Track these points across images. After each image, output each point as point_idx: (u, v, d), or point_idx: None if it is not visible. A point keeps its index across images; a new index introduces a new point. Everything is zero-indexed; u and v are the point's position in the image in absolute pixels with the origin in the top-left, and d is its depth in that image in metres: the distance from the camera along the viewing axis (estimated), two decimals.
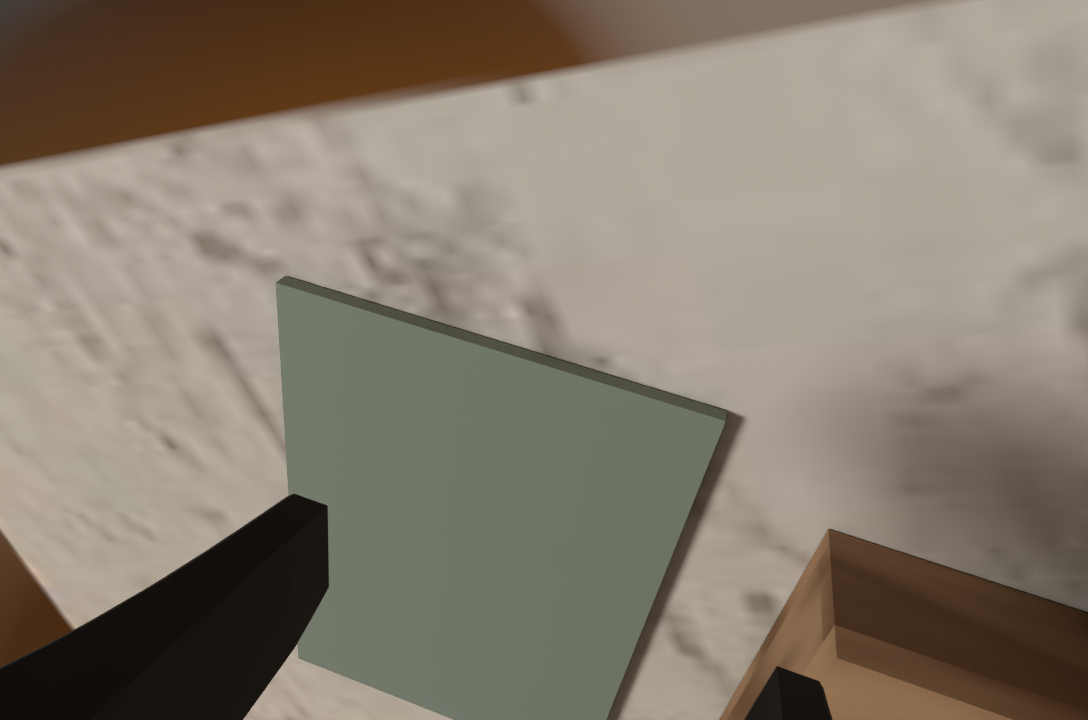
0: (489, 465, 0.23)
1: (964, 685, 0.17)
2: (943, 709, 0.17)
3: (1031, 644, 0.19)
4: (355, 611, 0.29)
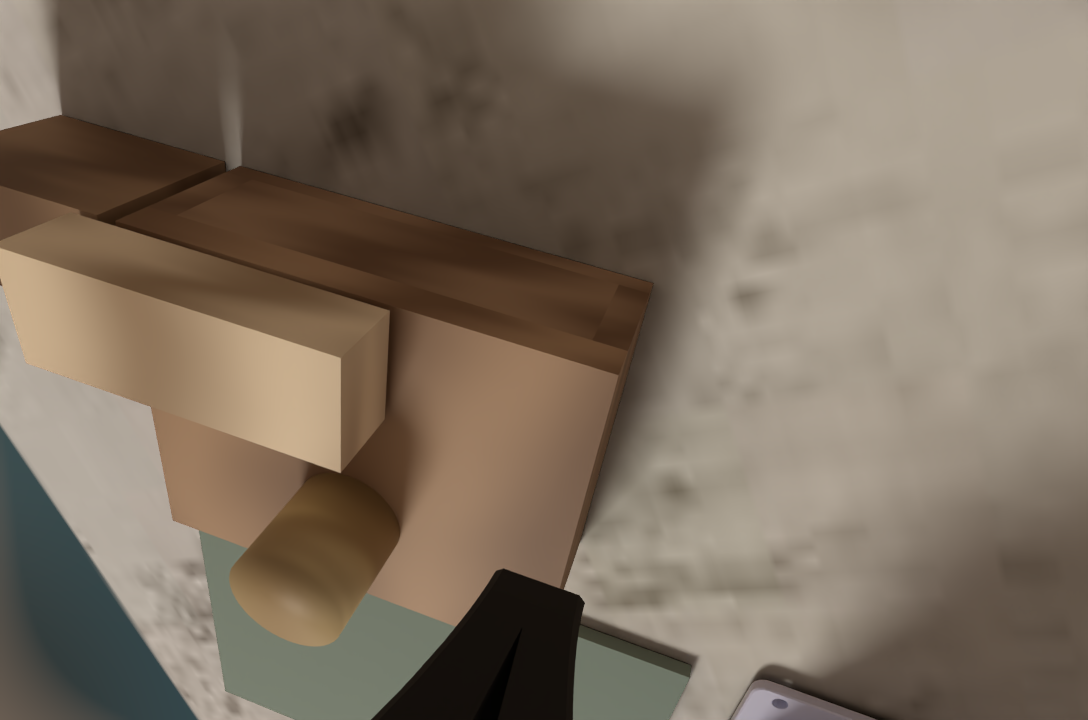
0: None
1: None
2: (175, 459, 0.20)
3: None
4: None
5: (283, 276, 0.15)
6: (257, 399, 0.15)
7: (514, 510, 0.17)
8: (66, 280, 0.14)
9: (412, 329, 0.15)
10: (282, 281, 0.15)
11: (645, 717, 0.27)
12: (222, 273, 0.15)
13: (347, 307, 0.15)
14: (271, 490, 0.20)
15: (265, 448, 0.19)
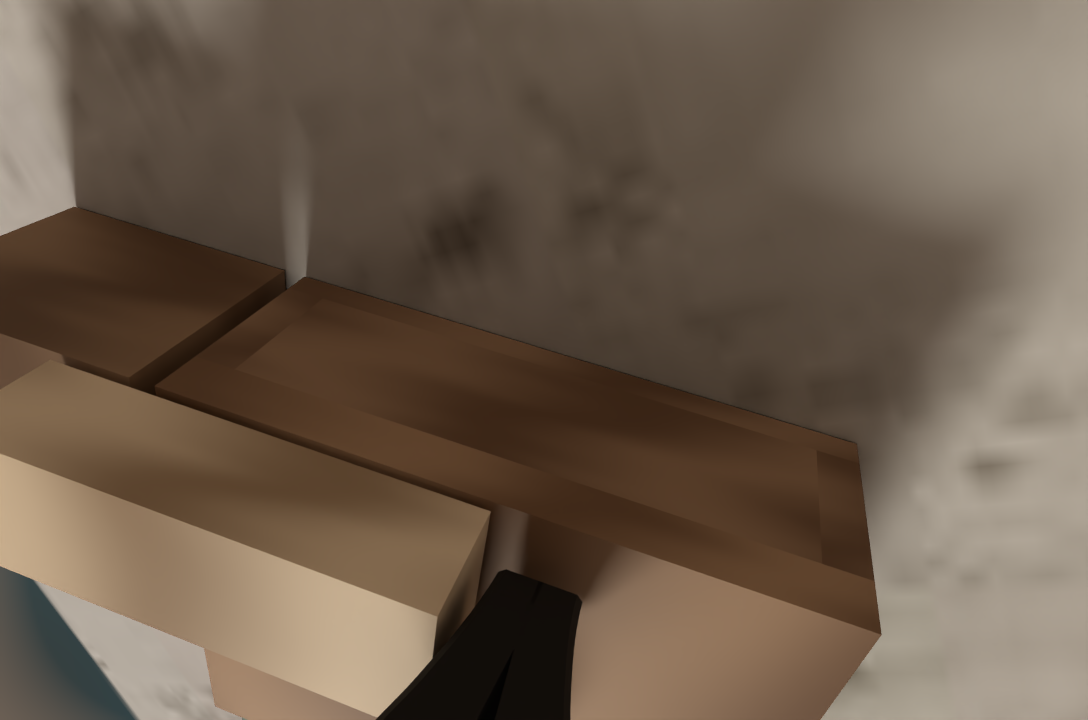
0: None
1: None
2: None
3: None
4: None
5: (389, 471, 0.11)
6: (309, 643, 0.10)
7: None
8: (41, 480, 0.10)
9: (572, 548, 0.11)
10: (340, 467, 0.11)
11: None
12: (258, 456, 0.11)
13: (432, 510, 0.11)
14: None
15: None
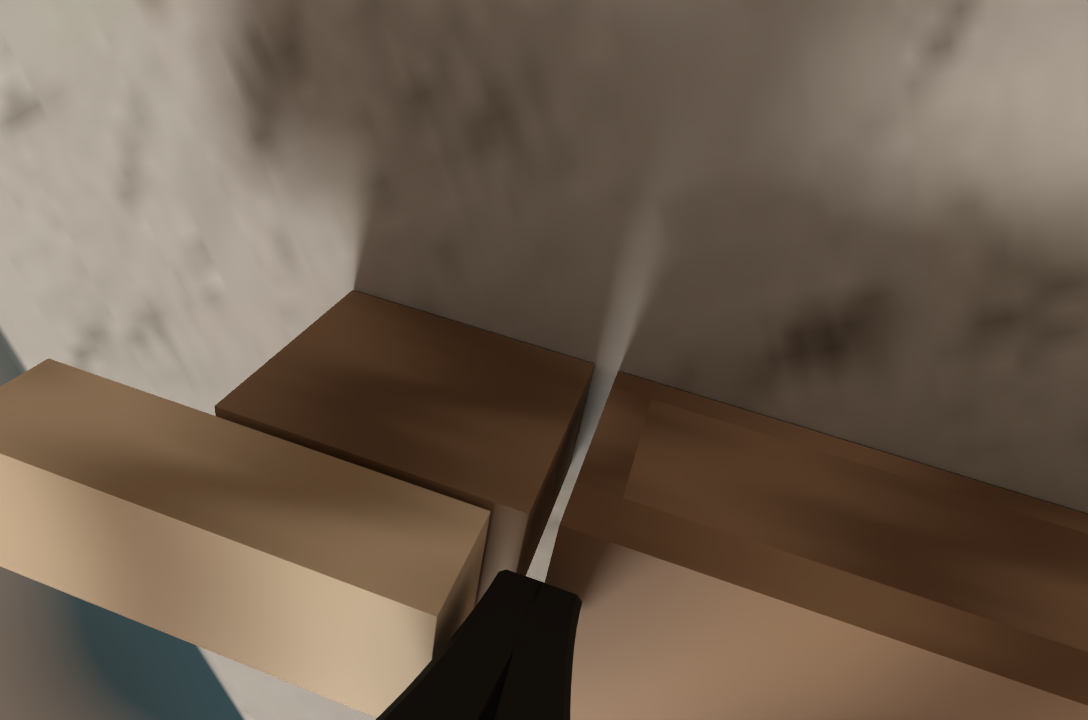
0: None
1: None
2: None
3: None
4: None
5: (844, 627, 0.10)
6: (308, 643, 0.10)
7: None
8: (38, 480, 0.10)
9: (1060, 718, 0.10)
10: (338, 466, 0.11)
11: None
12: (257, 455, 0.11)
13: (432, 509, 0.11)
14: None
15: None
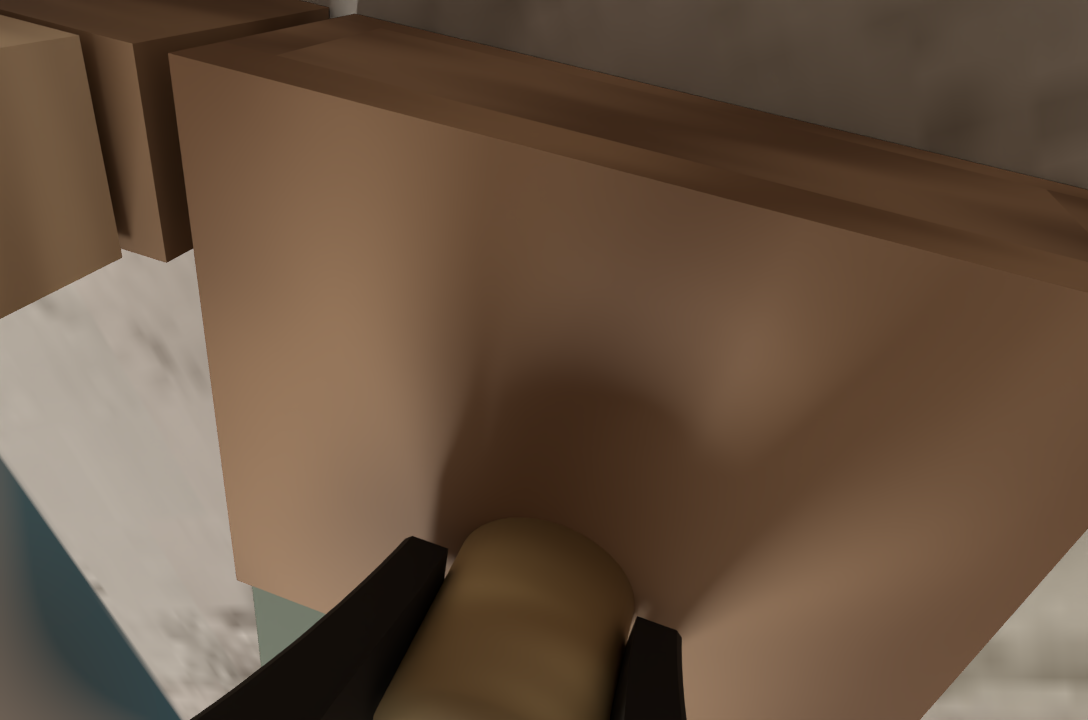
0: None
1: None
2: (248, 489, 0.12)
3: None
4: None
5: (502, 149, 0.08)
6: None
7: (879, 590, 0.10)
8: None
9: (769, 249, 0.08)
10: None
11: None
12: None
13: None
14: None
15: (409, 475, 0.11)
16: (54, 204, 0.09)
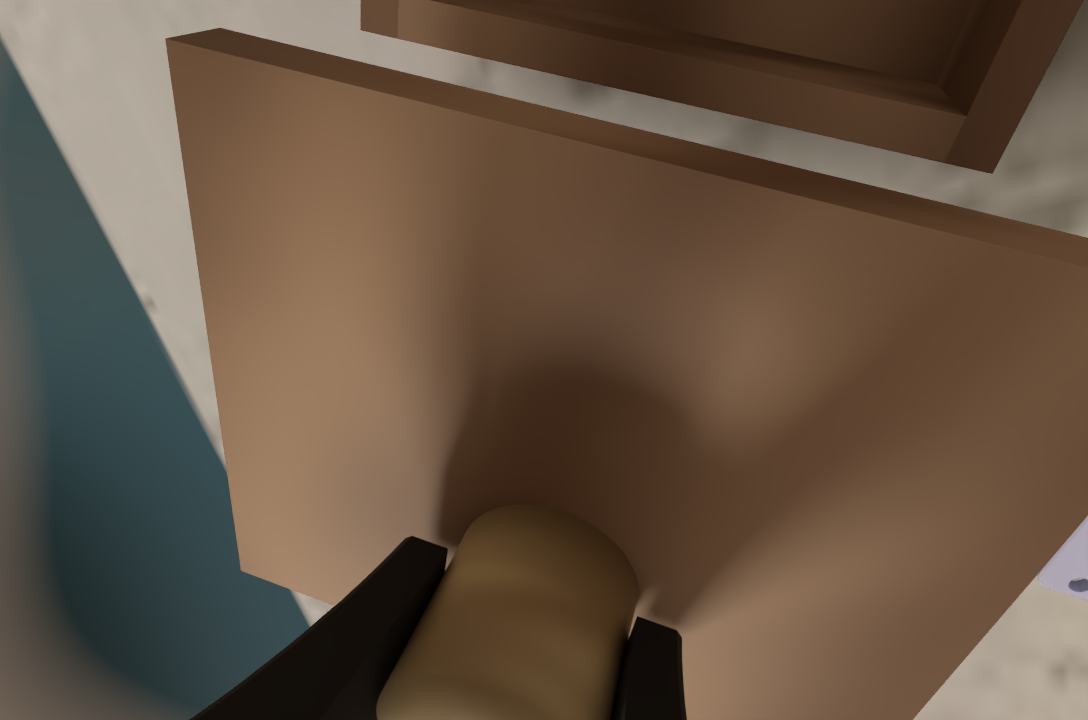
0: None
1: None
2: (251, 479, 0.12)
3: None
4: None
5: (501, 130, 0.08)
6: None
7: (884, 574, 0.10)
8: None
9: (769, 228, 0.08)
10: None
11: None
12: None
13: None
14: (411, 530, 0.12)
15: (412, 463, 0.11)
16: None
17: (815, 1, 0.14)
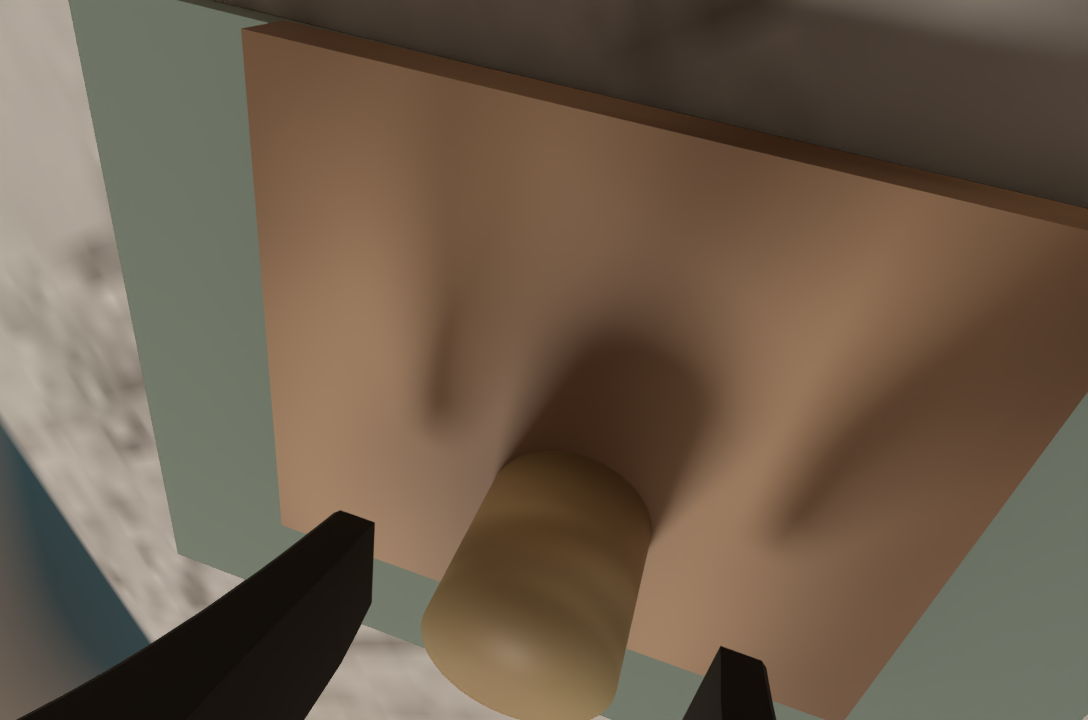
0: None
1: None
2: (296, 435, 0.14)
3: None
4: None
5: (537, 107, 0.09)
6: None
7: (872, 505, 0.11)
8: None
9: (770, 189, 0.09)
10: None
11: None
12: None
13: None
14: (445, 479, 0.13)
15: (447, 414, 0.12)
16: None
17: None
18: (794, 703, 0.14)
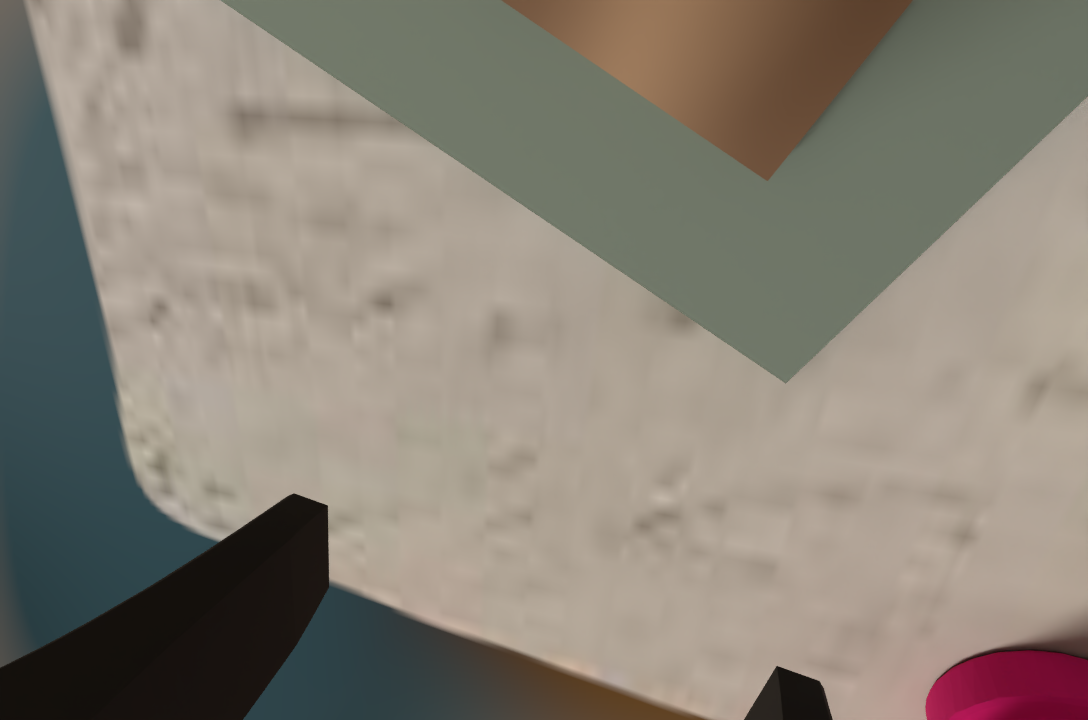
0: None
1: None
2: None
3: None
4: (691, 186, 0.17)
5: None
6: None
7: None
8: None
9: None
10: None
11: None
12: None
13: None
14: None
15: None
16: None
17: None
18: (736, 151, 0.15)
